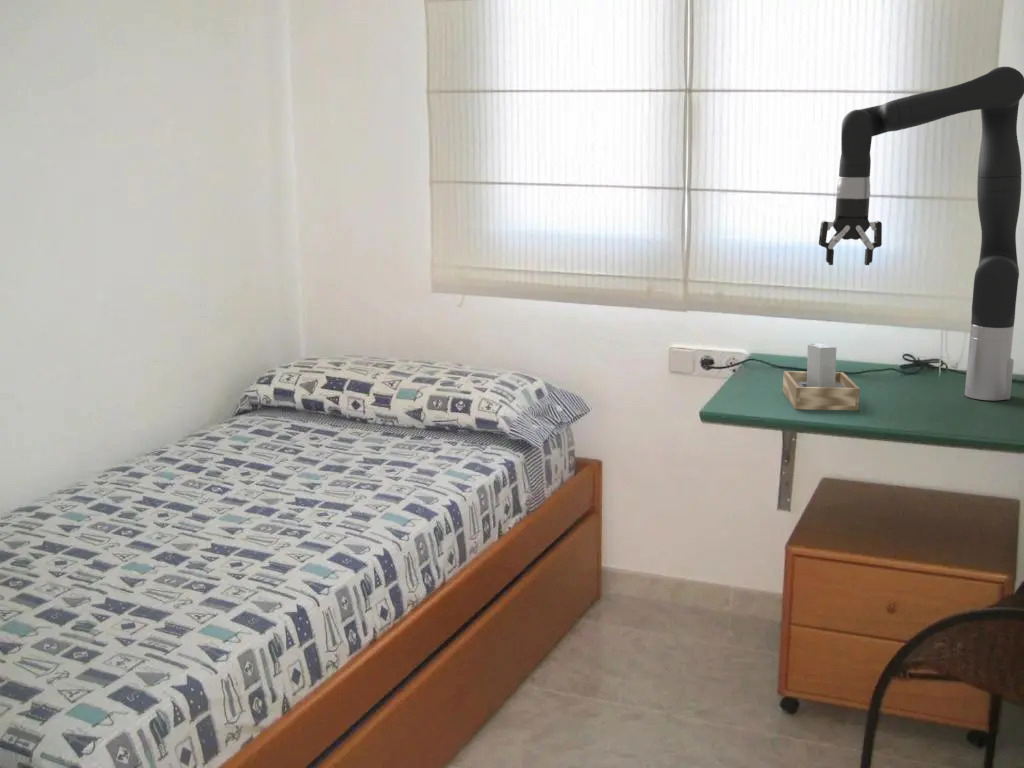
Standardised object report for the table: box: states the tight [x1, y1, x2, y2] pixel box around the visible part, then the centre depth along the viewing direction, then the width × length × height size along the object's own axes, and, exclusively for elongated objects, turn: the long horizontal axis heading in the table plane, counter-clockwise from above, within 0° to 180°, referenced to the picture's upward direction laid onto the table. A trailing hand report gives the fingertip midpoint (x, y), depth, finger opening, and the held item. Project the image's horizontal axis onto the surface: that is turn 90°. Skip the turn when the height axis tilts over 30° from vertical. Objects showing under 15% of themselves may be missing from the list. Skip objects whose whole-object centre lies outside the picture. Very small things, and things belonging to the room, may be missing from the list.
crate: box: [782, 370, 861, 411], centre depth 260 cm, size 14×18×5 cm
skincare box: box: [806, 342, 837, 388], centre depth 259 cm, size 6×4×12 cm
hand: (848, 264), depth 268 cm, fingers open, 8 cm apart
